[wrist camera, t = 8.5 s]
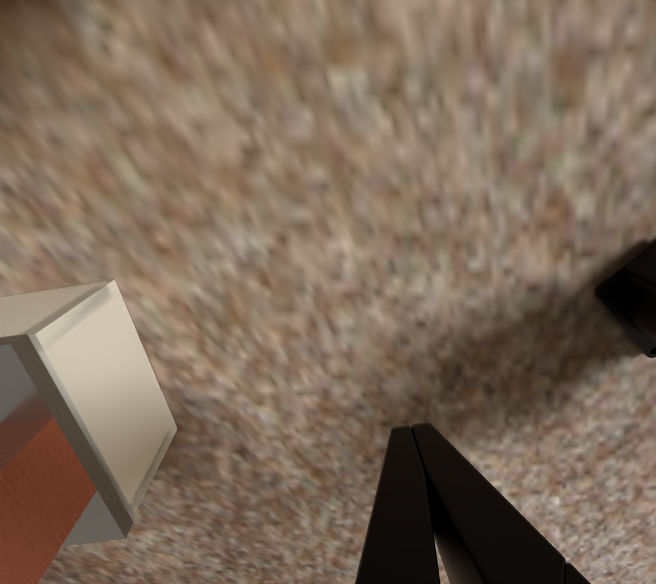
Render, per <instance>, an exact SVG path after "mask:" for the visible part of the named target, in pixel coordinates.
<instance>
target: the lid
mask: <svg viewBox="0 0 656 584" xmlns="http://www.w3.org/2000/svg"><path fill="white" fill-rule="evenodd" d="M132 524H133V521H132V519H131V517H130V516H129V514H128V512H127V510H126V509H125V507H124V505H123V503H122V501H121V500H120V498H119V496H118V494H117V493H116V491H115V489H114V487H113V486H112V484H111V482H110V480H109V478H108V477H107V475H106V473H105V471H104V470H103V468H102V466H101V464H100V462H99V461H98V459H97V457H96V455H95V454H94V452H93V450H92V448H91V447H90V445H89V443H88V441H87V439H86V438H85V436H84V434H83V432H82V431H81V429H80V427H79V425H78V423H77V422H76V420H75V418H74V416H73V415H72V413H71V411H70V409H69V408H68V406H67V404H66V402H65V400H64V399H63V397H62V395H61V393H60V392H59V390H58V388H57V386H56V385H55V383H54V381H53V379H52V377H51V376H50V374H49V372H48V370H47V369H46V367H45V365H44V363H43V361H42V360H41V358H40V356H39V354H38V353H37V351H36V349H35V347H34V346H33V344H32V342H31V340H30V338H29V337H28V335H27V334H21V335H14V336H7V337H0V584H38V582H39V580H40V579H41V577H42V576H43V574H44V573H45V571H46V569H47V568H48V566H49V565H50V563H51V562H52V560H53V558H54V557H55V555H56V554H57V552H58V551H59V549H60V547H61V546H66V545H75V544H83V543H92V542H100V541H108V540H117V539H125V538H126V537H127V535H128V533H129V531H130V528H131V526H132Z"/></svg>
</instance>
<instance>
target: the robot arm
mask: <svg viewBox="0 0 656 584" xmlns="http://www.w3.org/2000/svg"><path fill="white" fill-rule="evenodd" d="M606 291H608V292H607V294H605V295H604V293H605V292H606ZM594 295H595V297H596V299H597V300H598V301H599V302H600V303H601V305H602V306H603V307H604V308H605V309H606V311H607V312H608V313H609V314H610V315H611V317H612V318H613V319H614V320H615V321H616V323H617V324H618V325H619V326H620V327H621V329H622V330H623V331H624V332H625V333H626V335H627V336H628V337H629V338H630V339H631V341H632V342H633V343H634V344H635V345H636V347H637V348H638V349H639V350H640V351H641V353H643V354H644V355H646V356H647V357H649V358H654V357H656V243H655V244H654V245H653V246H651V247H650V248H649V249H647V250H646V251H645V252H643V253H642V254H641V255H639V256H638V257H637V258H635V259H634V260H633V261H631V262H630V263H629V264H627V265H626V266H625V267H624V268H622V269H621V270H620V271H618V272H617V273H616V274H614V275H613V276H612V277H610V278H609V279H608V280H606V281H605V282H604V283H602V284H601V285H600V286H598V287H597V289H596V290H595V294H594ZM434 538H435V539H434ZM435 541H436V544H437V547H438V550H439V553H440V556H441V559H442V561H443V564H444V567H445V570H446V573H447V576H448V578H449V581H450V584H591V583H590V582H589V581H588V580H587V579H586V578H585V577H584V576H583V575H582V574H581V573H580V572H579V571H578V570H577V569H576V568H575V567H574V566H573V565H572V564H571V563H566V560H565V558H564V557H563V556H562V555H561V554H560V553H559V552H558V551H557V550H556V549H555V548H554V547H553V546H552V545H551V544H550V543H549V542H548V541H547V540H546V539H545V538H544V537H543V536H542V535H541V534H540V533H539V532H538V531H537V530H536V529H535V528H534V527H533V526H532V525H531V524H530V523H529V522H528V521H527V520H526V519H525V518H524V517H523V516H522V515H521V514H520V513H519V512H518V511H517V510H516V509H515V507H514V506H513V505H512V504H511V503H510V502H509V501H508V500H507V499H506V498H505V497H504V496H503V495H502V494H501V493H500V492H499V491H498V490H497V489H496V488H495V487H494V486H493V485H492V484H491V483H490V482H489V481H488V480H487V479H486V478H485V477H484V476H483V475H482V474H481V473H480V472H479V471H478V470H477V469H476V468H475V467H474V466H473V465H472V464H471V463H470V462H469V461H468V460H467V459H466V458H465V457H464V456H463V455H462V454H461V453H460V452H459V451H458V450H457V449H456V448H455V447H454V446H453V445H452V444H451V443H450V442H449V441H448V440H447V439H446V438H445V437H444V436H443V435H442V434H441V433H440V432H439V431H438V430H437V429H436V428H435V427H434V426H433V425H432V424H430V423H428V422H424V423H418V424H413V425H412V426H411V427H410V426H409V425H404V426H397V427H393V428H392V429H391V432H390V436H389V440H388V445H387V449H386V453H385V457H384V462H383V466H382V470H381V474H380V479H379V483H378V487H377V491H376V496H375V500H374V504H373V508H372V513H371V517H370V521H369V526H368V530H367V534H366V538H365V543H364V547H363V551H362V555H361V560H360V564H359V568H358V572H357V577H356V581H355V584H440V577H439V569H438V562H437V554H436V547H435Z"/></svg>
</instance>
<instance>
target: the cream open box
mask: <svg viewBox="0 0 656 584" xmlns="http://www.w3.org/2000/svg"><path fill="white" fill-rule="evenodd" d="M21 334H27V335H28V337H29V338H30V340H31V342H32V344H33V346H34V347H35V349H36V351H37V353H38V354H39V356H40V358H41V360H42V361H43V363H44V365H45V367H46V369H47V370H48V372H49V374H50V376H51V377H52V379H53V381H54V383H55V385H56V386H57V388H58V390H59V392H60V393H61V395H62V397H63V399H64V400H65V402H66V404H67V406H68V408H69V409H70V411H71V413H72V415H73V416H74V418H75V420H76V422H77V423H78V425H79V427H80V429H81V431H82V432H83V434H84V436H85V438H86V439H87V441H88V443H89V445H90V447H91V448H92V450H93V452H94V454H95V455H96V457H97V459H98V461H99V462H100V464H101V466H102V468H103V470H104V471H105V473H106V475H107V477H108V478H109V480H110V482H111V484H112V486H113V487H114V489H115V491H116V493H117V494H118V496H119V498H120V500H121V501H122V503H123V505H124V507H125V509H126V510H127V512H128V514H129V515H134V514H136V512H137V510H138V507H139V505H140V503H141V501H142V499H143V497H144V495H145V493H146V491H147V489H148V487H149V485H150V483H151V481H152V479H153V477H154V475H155V473H156V471H157V469H158V467H159V465H160V463H161V461H162V459H163V457H164V455H165V453H166V451H167V449H168V447H169V445H170V443H171V441H172V439H173V437H174V435H175V433H176V431H177V426H176V424H175V421H174V419H173V417H172V414H171V412H170V410H169V407H168V405H167V402H166V400H165V398H164V395H163V393H162V391H161V388H160V386H159V383H158V381H157V379H156V376H155V374H154V372H153V369H152V367H151V365H150V362H149V360H148V357H147V355H146V353H145V350H144V348H143V346H142V343H141V341H140V338H139V336H138V334H137V331H136V329H135V327H134V324H133V322H132V319H131V317H130V315H129V312H128V310H127V308H126V305H125V303H124V301H123V298H122V296H121V293H120V291H119V289H118V286H117V284H116V282H115V280H109V281H102V282H96V283H89V284H83V285H76V286H69V287H63V288H56V289H50V290H43V291H37V292H30V293H24V294H17V295H11V296H4V297H0V337H7V336H14V335H21Z"/></svg>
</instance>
